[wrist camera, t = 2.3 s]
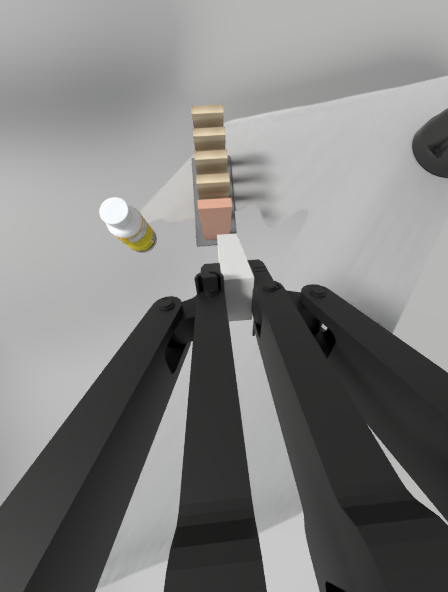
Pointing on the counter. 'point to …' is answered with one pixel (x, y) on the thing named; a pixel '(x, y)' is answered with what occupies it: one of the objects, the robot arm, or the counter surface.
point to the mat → (199, 231)
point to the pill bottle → (128, 225)
